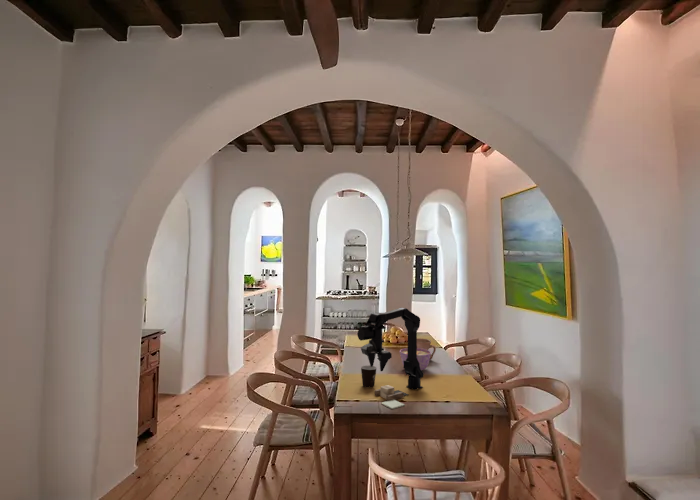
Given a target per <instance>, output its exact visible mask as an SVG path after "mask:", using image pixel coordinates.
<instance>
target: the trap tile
mask: <svg viewBox="0 0 700 500" xmlns="http://www.w3.org/2000/svg"><path fill="white" fill-rule="evenodd" d="M399 392H403V397H405V396H409V395H410V394H408V393H407V392H404V391H403V390H400V389H398V390H397V389H396V390H394V394H395V393H399Z"/></svg>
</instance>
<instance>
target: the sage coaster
mask: <svg viewBox="0 0 700 500" xmlns="http://www.w3.org/2000/svg"><path fill="white" fill-rule="evenodd" d="M380 403H381V405H382V406H384V407H387V408H388V409H391V410H394V409H397V408H402V407H405V406H406V404H405V403H403V402H400V401H398V400H397V399H396V400H390V401H383V402H380Z"/></svg>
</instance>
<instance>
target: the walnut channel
mask: <svg viewBox="0 0 700 500" xmlns="http://www.w3.org/2000/svg"><path fill="white" fill-rule="evenodd" d="M403 392H404V391H402V392H399V393H395V394H391V395H387V396H386V399H385V400H386V401H390V400H396V401H397V400H400V399H403V398H404V396H403ZM373 393H374V396H376V397H377V396H380V388H377V389H374V392H373ZM386 401H385V402H386Z"/></svg>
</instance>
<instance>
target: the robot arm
mask: <svg viewBox="0 0 700 500" xmlns="http://www.w3.org/2000/svg"><path fill="white" fill-rule="evenodd" d="M398 318H401V319H402V320H403V321H404V327H405V328H406V330H407V331H406V332H407V348H408V357H407V359H406V361H405V360H404V365H403V367H402V368H403V371H404V372H405V374H406V376H407V377H408V379H407V385H406V388H408V389H411V390H413V391H415V390H419V389H423V386H422V385H421V384H422V383H421V379H422V378H424V376H425V375H424V374H425V373H424V372H423V370H422V371H421V369H420V364H419V362H418V359H417V339H418V335H417V334H418V330H419V328H420V327H421V318H420V317H419V315H417V314H415V313H413V312H412V311H410V310H409V309H408V308H406V307H399V308H395V309H392V310H389V311H386V312H372V313H370V314H369V318H368V319H367V321H366V323H365V324H364V326H363V325H361V326H359V329H358V330H357V337H358V340H360V341H367V340H368V343H367V344H364V345H362V346H360V351H361V353H362V354H363V355H365V356H367V359H368V362H369V365H370V366H371V367H373V366H374V363H375V359H376V355H377V360H378V362H379V369H380V372H383V371H384V369H385V367H386V365H387V364H388V361H389V360H390V359H392V354H393V353H391V352H390V351H388V350H385V348H383V343H385V340H384V339H383V330H384V329H386V326H385V325H384V324H386V323H387V322H388V321H390V320H394V319H398Z"/></svg>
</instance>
